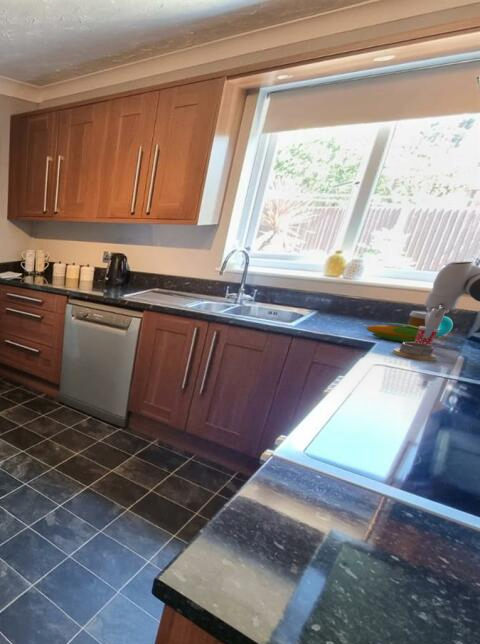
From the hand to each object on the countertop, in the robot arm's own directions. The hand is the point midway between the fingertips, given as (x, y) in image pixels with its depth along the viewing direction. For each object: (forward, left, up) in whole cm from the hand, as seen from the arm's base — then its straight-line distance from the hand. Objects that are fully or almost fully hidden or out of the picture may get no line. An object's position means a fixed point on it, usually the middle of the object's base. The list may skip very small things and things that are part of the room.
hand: (425, 336), depth 175 cm
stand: (+2, +18, -6) cm, 19 cm away
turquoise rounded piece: (-3, -39, -6) cm, 39 cm away
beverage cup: (0, 0, -6) cm, 6 cm away
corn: (+9, -10, -6) cm, 15 cm away
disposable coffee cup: (+2, -22, -6) cm, 23 cm away
